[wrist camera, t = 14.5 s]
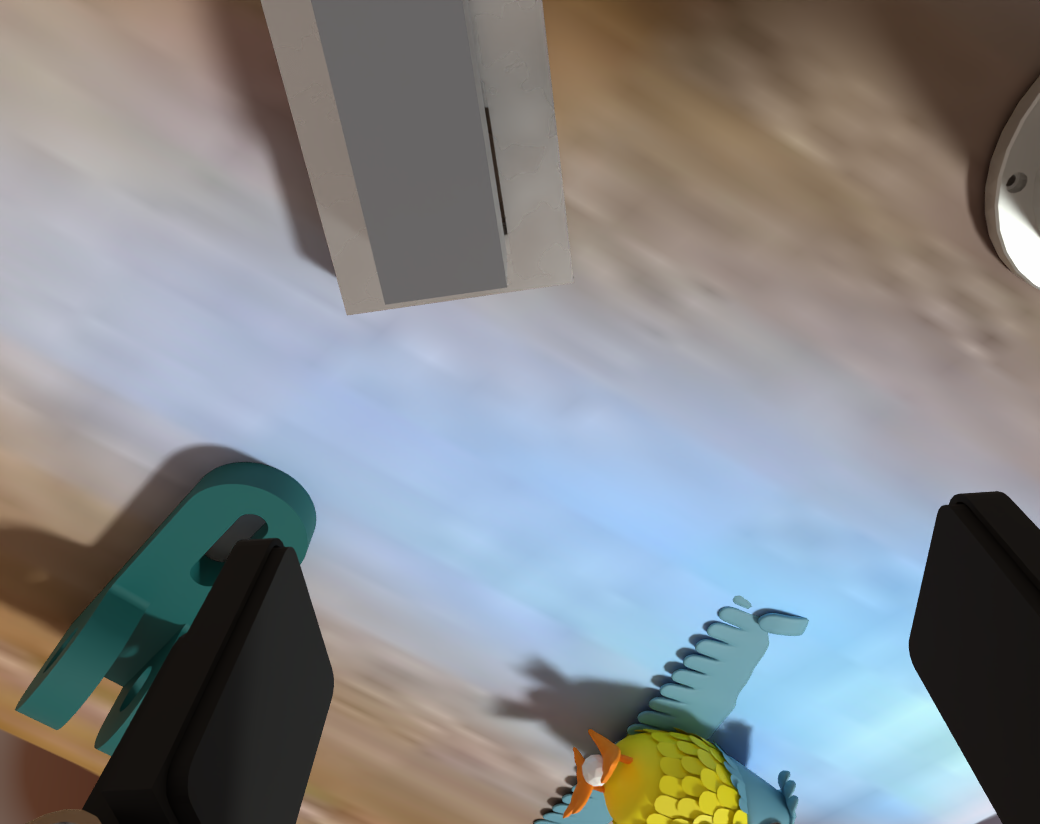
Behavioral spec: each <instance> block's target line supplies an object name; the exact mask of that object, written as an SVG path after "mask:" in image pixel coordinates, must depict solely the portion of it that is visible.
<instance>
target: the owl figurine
mask: <svg viewBox="0 0 1040 824" xmlns="http://www.w3.org/2000/svg"><path fill="white" fill-rule="evenodd" d="M733 602H734V603H735V604H737V605H740V606H742V607H745V608H747V609H749V608H750V607H752V606H751V604H750V603H749V601H747V600H746V599H744V598H743V597H741V596H735V597H734V599H733ZM718 616H719V617H720V619H722V620H723V621H725V622H728V623H730V624H732V625H735V626H737V627H739V628H741V629H739V628H736V627H733V626H730V625H727V624H724V623H719V622H716V623H713V624H711V625H710V626H709V627H708V629H707V634H708V635H709V636H711V637H712V638H715V639H718V640H720V641H723V642H719V641H715V640H709V639H704V640H700V641H699V642H697V643H696V645H695V649H696V651H697V652H699V653H701V654H704V655H706V656H709V657H706V656H701V655H696V654H692V655H688V656H686V657H685V658H684V660H683V664H684V665H685V666H686V667H688V668H690V669H693V670H696V671H699V672H696V671H692V670H687V669H679V670H676V671H674V672H673V673H672V676H671V677H672V679H673V680H674V681H675V682H678V683H680V684H683V685H686V686H683V685H678V684H672V683H668V684H665V685H663V686H661V688H660V693H661V695H663V696H665V697H668V698H664V697H655V698H653V699H651V700H650V702H649V707H650V708H651V709H653V710H656V711H659V712H662V713H659V712H654V711H643V712H641V713H640V714H639V715H638V721H639V722H641V723H643V724H632V725H630V726H629V727H628V729H627V733H628V734H629V735H627V736H626V738H624V739H622V740H621V741H618V742H616V743H612V742H611V741H610V740H608V739H607V738H605V737H604V736H602V735H600V734H598V733H597V732H595V731H594V730H592V729H589V730H588V733H589V735H590V736H591V738H592V739H593V741H594V742H595V744H596V745H597V747H598V749H599V750H600V752H601V755H602V756H601V755H599V754H598V755H590V756H589V757H588V758H586V759H584V758H583V756H582V755H581V753H580V752H579V751H578V750H577V748H575V747H573V751H574V756H575V757H574V758H575V763H576V765H577V772H576V774H577V785H574V786H573V787H572V791H573V794H566V795H564V796H563V797H562V801H563V802H564V803H567V804H556V805H554V806H553V807H552V810H553V811H555V812H558V813H554V812H550V813H546V814H545V815H543V818H544V819H546V820H537V821H536V822H534V824H608V823H609V822H610V821H612V820H613V821H612V822H613V824H794V821H795V818H796V813H795V809H796V807H797V804H798V797H797V796H794V795H793V796H792V794H793V792H794V790H795V787H796V783H795V782H794V781H792V780H789V781H788V779H789V777H790V772H789V771H782V772H780V773H779V776H778V784H779V786H780V790H776V789H775V788H774V787H773V786H771V785H770V784H768V783H767V782H766V781H764V780H763V779H762V778H760V777H759V776H757V775H756V774H755V773H753V772H752V771H750V770H749V769H747V768H746V767H745V766H743V765H742V764H740V763H739V762H738V761H736V760H735V759H733V758H732V757H730V756H728V755H727V754H726V753H725V752H724V751H723V750H722V748H721V747H720V746H719V745H718V744H717V743H715V742H714V741H713V742H714V743H715V745H716V746H715V745H714V744H712V743H711V742H709V741H707V740H708V739H709V738H710V737H711V736H712V734H713V733H714V732H715V731H716V730H717V729H718V727H719V726H720V725H721V723H722V722H723V721H724V720H725V719H726V717H727V716H728V715H729V714H730V713H731V712H732V710H733V709H734V707H735V705H736V700H737V697H738V695H739V693H740V691H741V690H742V688H743V687H744V686H745V684H746V683H747V681H748V680H749V678H750V676H751V674H752V672H753V670H754V668H755V667H756V665H757V664H758V662H759V661H760V660H761V658H762V657H763V655H764V654H765V652H766V650H767V648H768V646H769V638H768V633H772V634H777V635H787V636H799V635H802V634H803V633H804V631H805V629H806V627H807V625H808V621H809V620H808V619H807V618H803V617H797V616H788V615H783V614H778V613H767V614H764V615H762V616H761V617H759V616H755V615H752V614H749V613H746V612H744V611H741V610H739V609H736V608H733V607H724V608H722V609H721V610H720V611H719V615H718ZM724 642H725V643H724ZM710 657H712V658H710ZM688 686H689V687H688ZM670 698H671V699H670ZM644 724H646V725H644Z"/></svg>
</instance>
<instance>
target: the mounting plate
mask: <svg viewBox="0 0 1040 824" xmlns="http://www.w3.org/2000/svg"><path fill="white" fill-rule="evenodd" d="M468 3H469V10H470V16H471V23H472V29H473V36H474V42H475V49H476V55H477V62H478V69H479V75H480V82H481V88H482V95H483V101H484V108H485V114H486V121H487V127H488V134H489V140H490V147H491V153H492V160H493V166H494V173H495V179H496V186H497V192H498V199H499V205H500V212H501V218H502V225H503V231H504V238H505V245H506V251H507V288H500V289H493V290H486V291H479V292H472V293H465V294H458V295H451V296H444V297H437V298H430V299H423V300H415V301H408V302H401V303H394V304H387V305H385V302H384V298H383V294H382V290H381V286H380V282H379V278H378V274H377V270H376V265H375V261H374V257H373V253H372V249H371V245H370V241H369V237H368V233H367V229H366V224H365V220H364V216H363V212H362V208H361V204H360V200H359V196H358V192H357V188H356V183H355V179H354V175H353V171H352V167H351V163H350V159H349V155H348V151H347V147H346V142H345V138H344V134H343V130H342V126H341V122H340V118H339V114H338V110H337V106H336V102H335V97H334V93H333V89H332V85H331V81H330V77H329V73H328V69H327V65H326V61H325V56H324V52H323V48H322V44H321V40H320V36H319V32H318V28H317V24H316V20H315V15H314V11H313V7H312V3H311V0H261V4H262V8H263V11H264V15H265V19H266V22H267V26H268V29H269V33H270V37H271V40H272V44H273V48H274V51H275V55H276V59H277V62H278V66H279V70H280V73H281V77H282V80H283V84H284V88H285V91H286V95H287V99H288V102H289V106H290V110H291V113H292V117H293V120H294V124H295V128H296V131H297V135H298V139H299V142H300V146H301V150H302V153H303V157H304V161H305V164H306V168H307V171H308V175H309V179H310V182H311V186H312V190H313V193H314V197H315V201H316V204H317V208H318V212H319V215H320V219H321V222H322V226H323V230H324V233H325V237H326V241H327V244H328V248H329V252H330V255H331V259H332V262H333V266H334V270H335V273H336V277H337V281H338V284H339V288H340V292H341V295H342V299H343V303H344V306H345V310H346V313H347V315H353V314H360V313H367V312H374V311H381V310H388V309H395V308H402V307H409V306H416V305H423V304H430V303H437V302H444V301H451V300H458V299H465V298H472V297H479V296H486V295H493V294H500V293H507V292H514V291H521V290H528V289H535V288H542V287H549V286H556V285H563V284H570V283H574V280H573V271H572V262H571V253H570V244H569V235H568V226H567V218H566V209H565V200H564V191H563V182H562V173H561V164H560V155H559V146H558V137H557V129H556V120H555V111H554V102H553V93H552V84H551V75H550V66H549V57H548V48H547V40H546V31H545V22H544V13H543V4H542V0H468Z"/></svg>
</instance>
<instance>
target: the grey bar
mask: <svg viewBox="0 0 1040 824" xmlns="http://www.w3.org/2000/svg"><path fill="white" fill-rule="evenodd" d="M311 3H312V7H313V11H314V15H315V20H316V24H317V28H318V32H319V36H320V40H321V44H322V48H323V52H324V56H325V61H326V65H327V69H328V73H329V77H330V81H331V85H332V89H333V93H334V97H335V102H336V106H337V110H338V114H339V118H340V122H341V126H342V130H343V134H344V138H345V142H346V147H347V151H348V155H349V159H350V163H351V167H352V171H353V175H354V179H355V183H356V188H357V192H358V196H359V200H360V204H361V208H362V212H363V216H364V220H365V224H366V229H367V233H368V237H369V241H370V245H371V249H372V253H373V257H374V261H375V265H376V270H377V274H378V278H379V282H380V286H381V290H382V294H383V298H384V302H385V305H387V304H394V303H401V302H408V301H415V300H423V299H430V298H437V297H444V296H451V295H458V294H465V293H472V292H479V291H486V290H493V289H500V288H507V251H506V245H505V238H504V231H503V225H502V218H501V212H500V205H499V199H498V192H497V186H496V179H495V173H494V166H493V160H492V153H491V147H490V140H489V134H488V127H487V121H486V114H485V108H484V101H483V95H482V88H481V82H480V75H479V69H478V62H477V55H476V49H475V42H474V36H473V29H472V23H471V16H470V10H469V3H468V0H311Z"/></svg>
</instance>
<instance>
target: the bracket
mask: <svg viewBox="0 0 1040 824" xmlns="http://www.w3.org/2000/svg"><path fill="white" fill-rule="evenodd" d="M245 514H254V515H257V516H260V517H261V518H263V519H264V520H265V521H266V523H265V524H264V525H263V526H262V527H261V528H260V529H259V530H258V531H257V532H256V533H255V534H254V535H253V536H252V537H251V538H250V539H265V538H279V539H280V540H281V541H282V542H283V544H284V547H293V548H294V549H295V551H296V554H297V557H298V560H299V563H300V564H301V563H302V561H303V559H304V557H305V555H306V552H307V549H308V547H309V544H310V541H311V538H312V535H313V533H314V530H315V526H316V512H315V507H314V504H313V502H312V500H311V498H310V496H309V495H308V493H307V492H306V490H305V489H304V488H303V487H302V486H301V485H300V484H299V483H298V482H297V481H296V480H295V479H293V478H292V477H291V476H289V475H288V474H286V473H284V472H282V471H280V470H278V469H276V468H273V467H271V466H268V465H264V464H259V463H252V462H238V463H231V464H226V465H223V466H220V467H218V468H216V469H214V470H212V471H210V472H209V473H208V474H206V475H205V476H204V477H203V478H202V479H201V480H200V482H199V483H198V484H197V485H196V486H195V487H194V488H193V489H192V490H191V492H190V493H189V494H188V495H187V496H186V497H185V498H184V499H183V501H182V502H181V503H180V504H179V505H178V506H177V507H176V508H175V509H174V511H173V512H172V513H171V514H170V515H169V516H168V517H167V518H166V520H165V521H164V522H163V523H162V524H161V525H160V526H159V527H158V528H157V530H156V531H155V532H154V533H153V534H152V535H151V536H150V537H149V539H148V540H147V541H146V542H145V543H144V544H143V545H142V546H141V547H140V549H139V550H138V551H137V552H136V553H135V554H134V555H133V556H132V558H131V559H130V560H129V561H128V562H127V563H126V564H125V565H124V566H123V568H122V569H121V570H120V571H119V572H118V573H117V574H116V575H115V577H114V578H113V579H112V580H111V581H110V582H109V583H108V584H107V585H106V587H105V588H104V589H103V590H102V591H101V592H100V593H99V594H98V596H97V597H96V598H95V599H94V600H93V601H92V602H91V603H90V604H89V606H88V607H87V608H86V609H85V610H84V611H83V612H82V613H81V615H80V616H79V617H78V618H77V619H76V620H75V621H74V622H73V624H72V625H71V626H70V627H69V629H68V630H67V632H66V633H65V635H64V636H63V638H62V639H61V640H60V642H59V643H58V645H57V646H56V648H55V649H54V651H53V652H52V653H51V655H50V656H49V658H48V659H47V661H46V662H45V664H44V665H43V667H42V668H41V669H40V671H39V672H38V674H37V675H36V677H35V678H34V680H33V681H32V682H31V684H30V685H29V687H28V688H27V690H26V691H25V693H24V694H23V696H22V698H21V699H20V701H19V703H18V704H17V706H16V709H15V710H16V711H18V712H20V713H22V714H24V715H26V716H28V717H30V718H32V719H34V720H37V721H39V722H41V723H43V724H45V725H47V726H49V727H51V728H53V729H55V730H58V729H60V728H61V727H62V726H64V725H65V724H66V723H67V722H68V721H69V720H70V719H71V717H72V716H73V715H74V714H75V713H76V712H77V711H78V709H79V708H80V707H81V706H82V705H83V703H84V702H85V701H86V700H87V698H88V697H89V696H90V695H91V693H92V692H93V691H94V689H95V688H96V687H97V685H98V684H99V683H100V681H101V680H102V679H103V677H105V678H107V679H109V680H111V681H113V682H115V683H117V684H119V685H121V686H123V688H122V690H121V692H120V694H119V696H118V697H117V699H116V701H115V703H114V705H113V707H112V708H111V710H110V712H109V714H108V716H107V717H106V719H105V721H104V723H103V725H102V727H101V729H100V731H99V733H98V736H97V738H96V741H95V749H98V750H100V751H102V752H104V753H106V754H108V755H110V756H112V754H113V753H114V751H115V749H116V747H117V745H118V744H119V742H120V740H121V738H122V736H123V735H124V733H125V731H126V729H127V727H128V726H129V724H130V722H131V720H132V718H133V717H134V715H135V713H136V711H137V709H138V708H139V706H140V704H141V702H142V700H143V699H144V697H145V695H146V693H147V691H148V690H149V688H150V686H151V684H152V682H153V681H154V679H155V677H156V675H157V673H158V672H159V670H160V668H161V666H162V664H163V663H164V661H165V659H166V657H167V656H168V654H169V652H170V650H171V648H172V647H173V645H174V644H175V642H176V641H177V640H178V638H179V637H181V636H182V635H184V634H185V633H187V632H188V630H189V628H190V626H191V624H192V623H193V621H194V619H195V617H196V615H197V613H198V612H199V610H200V608H201V606H202V604H203V602H204V601H205V599H206V597H207V595H208V593H209V591H210V590H211V588H212V586H213V584H214V582H215V580H216V579H217V577H218V575H219V573H220V571H221V569H222V568H223V566H224V564H225V562H226V561H225V562H217V561H213V560H211V559H210V558H208V557H207V556H206V555H205V553H206V552H207V551H208V550H209V549H210V548H211V547H212V546H213V544H214V543H215V542H216V541H217V540H218V539H219V538H220V537H221V536H222V535H223V534H224V533H225V532H226V531H227V530H228V529H229V528H230V527H231V526H232V524H233V523H234V522H235V521H236V520H237V519H238V518H239V517H240V516H242V515H245Z"/></svg>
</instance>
